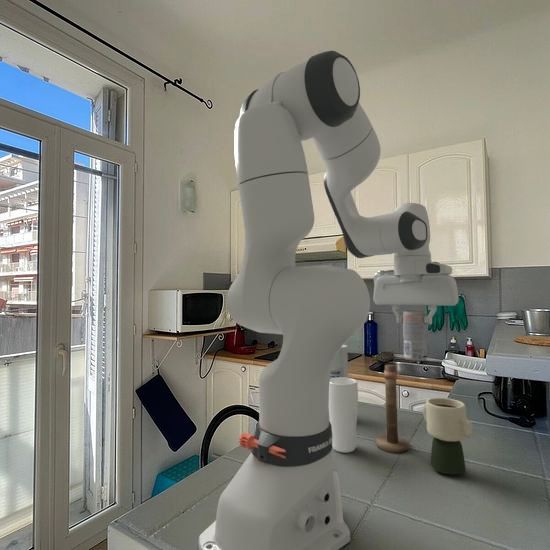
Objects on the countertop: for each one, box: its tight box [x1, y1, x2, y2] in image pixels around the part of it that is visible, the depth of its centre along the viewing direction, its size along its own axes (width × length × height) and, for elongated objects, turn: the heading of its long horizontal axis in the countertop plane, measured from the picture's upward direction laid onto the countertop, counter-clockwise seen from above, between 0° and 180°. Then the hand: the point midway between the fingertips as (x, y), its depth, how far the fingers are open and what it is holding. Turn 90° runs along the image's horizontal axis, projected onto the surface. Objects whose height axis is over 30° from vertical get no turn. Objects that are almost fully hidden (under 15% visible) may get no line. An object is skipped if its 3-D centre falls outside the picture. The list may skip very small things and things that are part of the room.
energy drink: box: [402, 310, 428, 362], centre depth 88 cm, size 5×5×12 cm
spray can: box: [329, 344, 349, 421], centre depth 98 cm, size 6×6×20 cm
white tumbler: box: [329, 377, 359, 454], centre depth 79 cm, size 7×7×15 cm
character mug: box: [422, 397, 473, 475], centre depth 69 cm, size 11×7×13 cm, turn 24°
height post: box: [375, 364, 410, 454], centre depth 80 cm, size 7×7×18 cm
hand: (414, 323), depth 88 cm, fingers closed on energy drink, 5 cm apart
